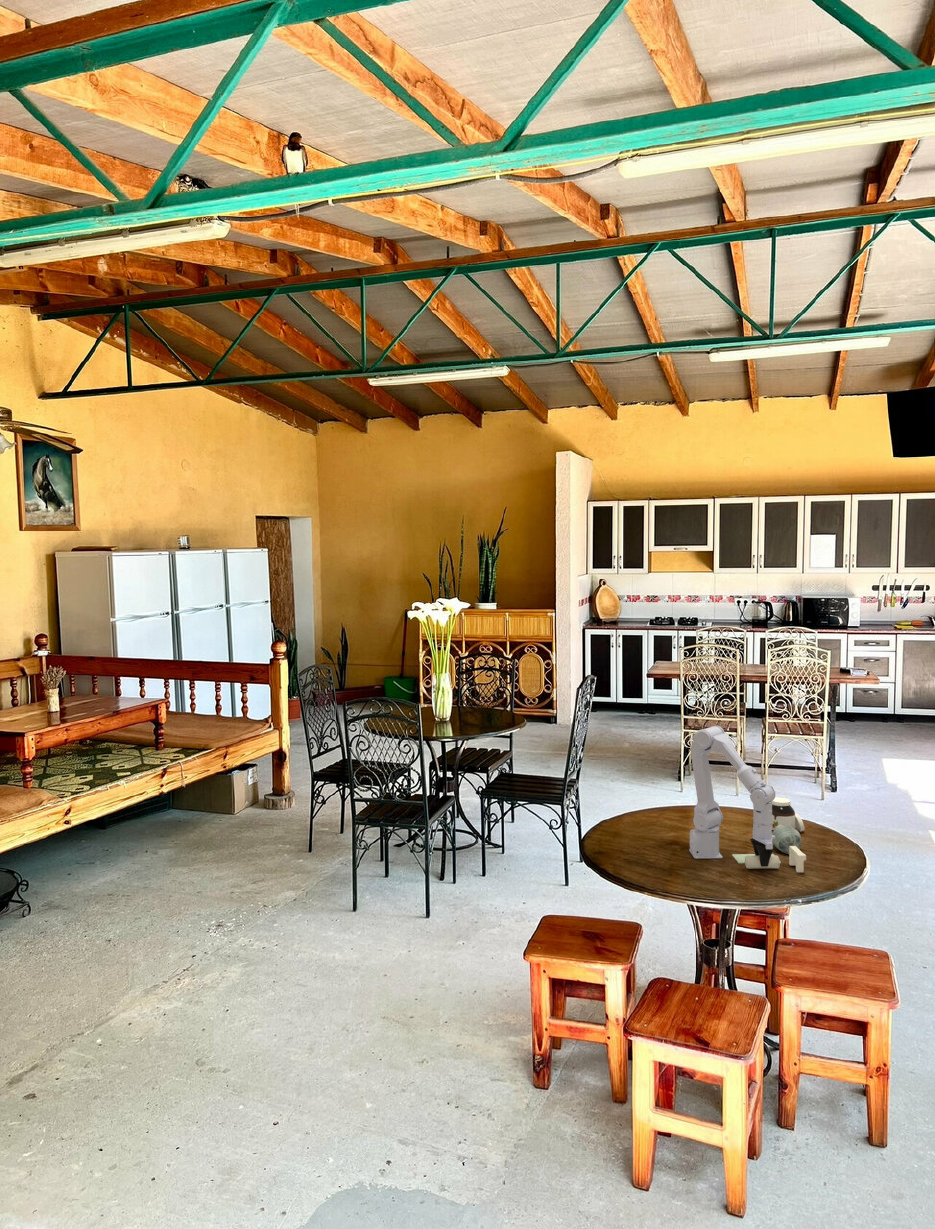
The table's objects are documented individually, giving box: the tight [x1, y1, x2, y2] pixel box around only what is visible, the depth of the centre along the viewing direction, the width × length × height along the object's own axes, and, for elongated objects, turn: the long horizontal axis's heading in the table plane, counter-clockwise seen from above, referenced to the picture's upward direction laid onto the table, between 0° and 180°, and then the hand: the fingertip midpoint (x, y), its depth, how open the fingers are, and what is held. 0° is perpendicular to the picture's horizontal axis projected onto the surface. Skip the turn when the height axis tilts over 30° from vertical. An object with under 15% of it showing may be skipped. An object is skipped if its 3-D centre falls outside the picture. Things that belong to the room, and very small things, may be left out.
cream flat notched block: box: [788, 846, 807, 873], centre depth 281 cm, size 2×9×6 cm, turn 179°
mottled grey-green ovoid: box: [772, 824, 802, 855], centre depth 300 cm, size 14×10×10 cm
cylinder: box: [744, 854, 781, 869], centre depth 282 cm, size 10×4×4 cm, turn 89°
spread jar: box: [771, 796, 806, 833], centre depth 320 cm, size 12×11×12 cm
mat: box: [731, 853, 782, 864], centre depth 292 cm, size 14×8×1 cm, turn 89°
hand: (762, 863), depth 282 cm, fingers closed on cylinder, 4 cm apart
